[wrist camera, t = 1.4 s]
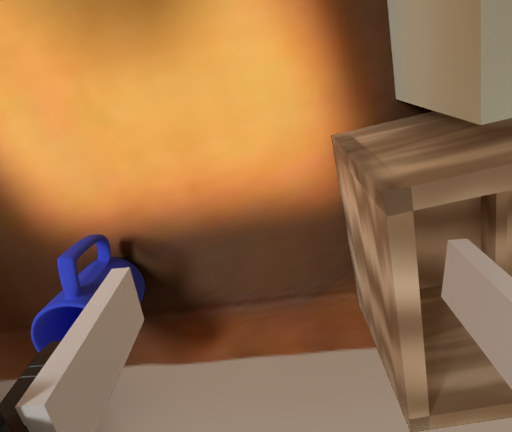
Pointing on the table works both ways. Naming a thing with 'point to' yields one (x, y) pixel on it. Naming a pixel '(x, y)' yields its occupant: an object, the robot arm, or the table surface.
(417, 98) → the door
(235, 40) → the table surface
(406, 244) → the cabinet
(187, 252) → the table surface
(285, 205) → the table surface
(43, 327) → the mug
